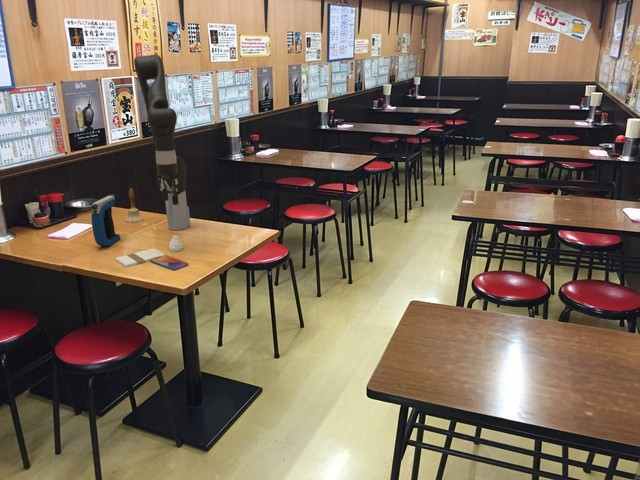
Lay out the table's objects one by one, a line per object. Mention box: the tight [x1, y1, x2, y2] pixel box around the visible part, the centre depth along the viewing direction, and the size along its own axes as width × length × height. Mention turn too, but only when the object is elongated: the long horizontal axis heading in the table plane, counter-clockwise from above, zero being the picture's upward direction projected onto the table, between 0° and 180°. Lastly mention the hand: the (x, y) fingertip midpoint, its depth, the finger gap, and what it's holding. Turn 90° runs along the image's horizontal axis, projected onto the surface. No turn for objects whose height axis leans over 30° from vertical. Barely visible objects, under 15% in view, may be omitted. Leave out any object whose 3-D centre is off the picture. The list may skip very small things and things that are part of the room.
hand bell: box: [125, 187, 144, 224], centre depth 247 cm, size 8×8×16 cm
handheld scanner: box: [90, 193, 121, 247], centre depth 215 cm, size 5×16×20 cm, turn 174°
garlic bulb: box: [168, 235, 184, 252], centre depth 210 cm, size 6×6×5 cm
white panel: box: [114, 247, 166, 268], centre depth 201 cm, size 16×10×1 cm, turn 133°
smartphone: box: [150, 254, 189, 271], centre depth 197 cm, size 7×15×1 cm, turn 52°
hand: (170, 202), depth 204 cm, fingers open, 8 cm apart
